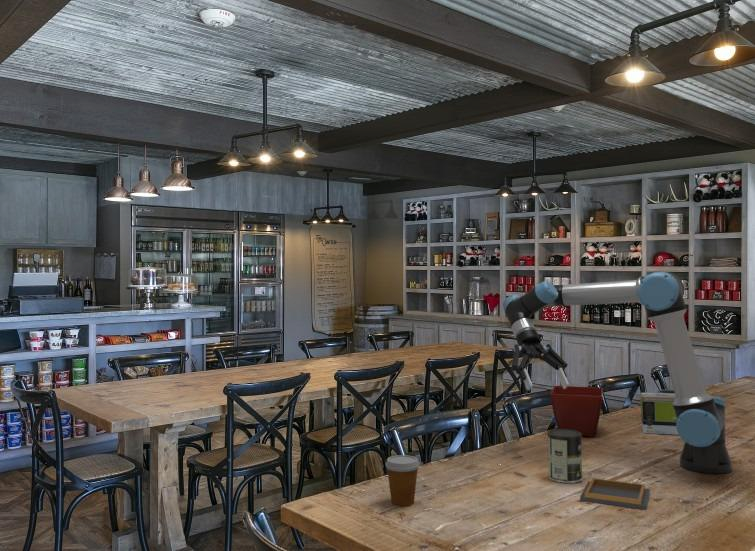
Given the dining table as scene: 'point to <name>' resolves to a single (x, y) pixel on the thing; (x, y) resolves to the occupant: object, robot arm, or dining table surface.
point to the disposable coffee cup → (402, 478)
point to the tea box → (658, 413)
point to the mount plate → (616, 493)
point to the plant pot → (577, 408)
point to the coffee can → (564, 455)
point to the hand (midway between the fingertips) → (548, 387)
